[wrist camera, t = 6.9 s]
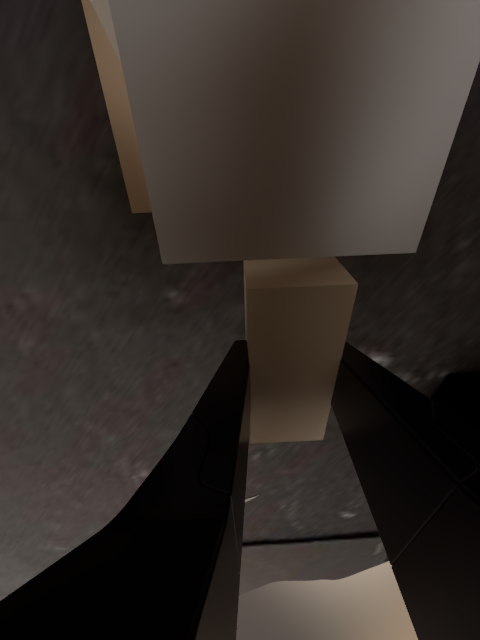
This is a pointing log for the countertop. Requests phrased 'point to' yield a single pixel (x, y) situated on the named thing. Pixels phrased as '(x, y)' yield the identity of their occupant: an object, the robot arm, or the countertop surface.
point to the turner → (294, 159)
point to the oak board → (118, 111)
